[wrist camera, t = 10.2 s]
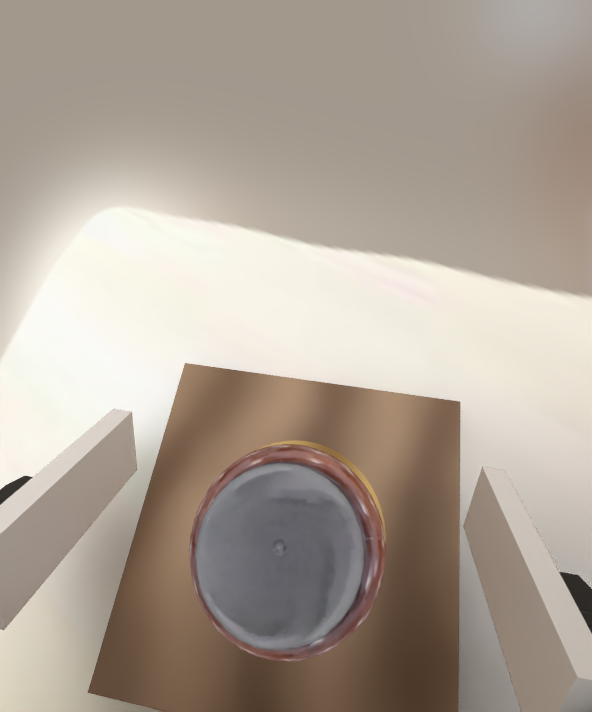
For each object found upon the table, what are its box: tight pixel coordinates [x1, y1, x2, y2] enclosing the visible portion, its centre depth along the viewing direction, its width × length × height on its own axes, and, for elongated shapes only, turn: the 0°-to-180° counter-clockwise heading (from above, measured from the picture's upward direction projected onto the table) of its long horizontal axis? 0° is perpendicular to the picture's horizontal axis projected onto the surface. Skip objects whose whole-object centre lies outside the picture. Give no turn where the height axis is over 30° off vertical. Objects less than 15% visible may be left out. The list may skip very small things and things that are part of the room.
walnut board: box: [88, 363, 460, 712], centre depth 20 cm, size 16×16×1 cm
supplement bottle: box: [189, 444, 386, 662], centre depth 14 cm, size 6×6×11 cm
